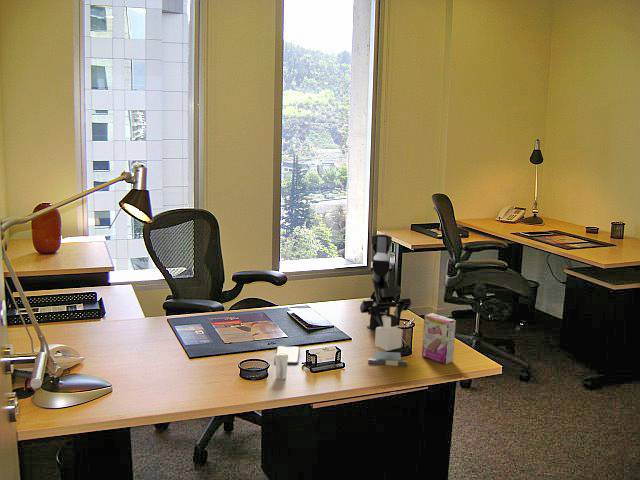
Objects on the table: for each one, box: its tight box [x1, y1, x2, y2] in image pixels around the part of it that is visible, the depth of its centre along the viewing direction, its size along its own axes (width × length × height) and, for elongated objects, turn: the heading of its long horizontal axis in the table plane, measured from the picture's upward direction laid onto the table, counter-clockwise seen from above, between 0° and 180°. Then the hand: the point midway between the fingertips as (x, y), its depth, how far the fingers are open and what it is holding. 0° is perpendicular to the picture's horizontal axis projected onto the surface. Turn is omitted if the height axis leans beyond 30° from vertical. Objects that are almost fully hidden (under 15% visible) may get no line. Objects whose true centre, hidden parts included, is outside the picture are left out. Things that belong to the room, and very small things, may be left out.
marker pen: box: [367, 358, 408, 367], centre depth 256 cm, size 2×14×2 cm, turn 84°
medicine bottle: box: [374, 313, 403, 352], centre depth 261 cm, size 7×7×12 cm
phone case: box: [274, 345, 301, 366], centre depth 261 cm, size 9×2×16 cm
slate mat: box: [374, 350, 402, 360], centre depth 263 cm, size 10×10×1 cm
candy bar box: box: [421, 312, 457, 365], centre depth 261 cm, size 11×5×16 cm, turn 44°
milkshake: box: [272, 351, 288, 381], centre depth 240 cm, size 4×5×10 cm
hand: (390, 325), depth 259 cm, fingers closed on medicine bottle, 6 cm apart
